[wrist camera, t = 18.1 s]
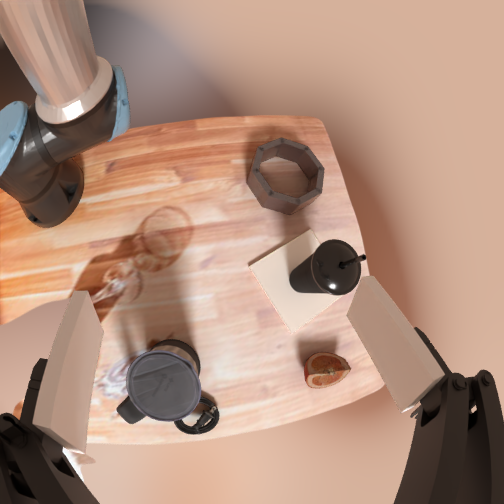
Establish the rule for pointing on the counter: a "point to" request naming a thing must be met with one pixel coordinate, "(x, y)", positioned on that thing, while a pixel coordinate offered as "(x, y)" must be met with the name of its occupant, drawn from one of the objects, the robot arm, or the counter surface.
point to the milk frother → (167, 388)
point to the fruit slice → (325, 370)
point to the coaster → (278, 286)
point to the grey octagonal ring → (292, 153)
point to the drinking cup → (328, 270)
